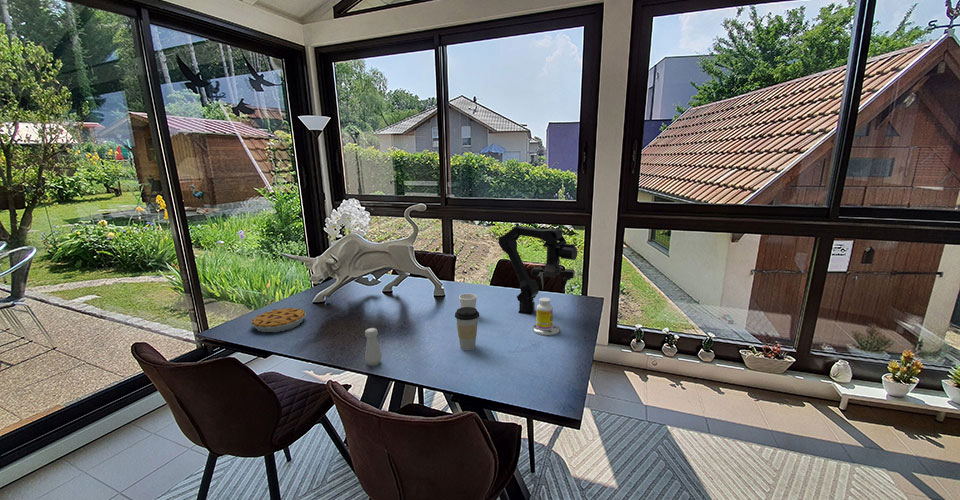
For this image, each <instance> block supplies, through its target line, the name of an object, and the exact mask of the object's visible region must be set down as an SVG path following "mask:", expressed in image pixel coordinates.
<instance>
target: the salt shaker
mask: <svg viewBox="0 0 960 500" xmlns="http://www.w3.org/2000/svg"><path fill="white" fill-rule="evenodd" d="M378 334H379V331H378V330H377V328H376V327H370V328H367V329H366V330H365V331H364V337H365V338H367V339H366V345H365V355H364V360H365V362H366V364H367V365H368V366H370V367H374V366H378V365H379V364H380V363H381V360H382V352H381V349H380V345H379V342H378V338H377V336H378Z"/></svg>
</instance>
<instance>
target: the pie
mask: <svg viewBox="0 0 960 500" xmlns="http://www.w3.org/2000/svg"><path fill="white" fill-rule="evenodd" d="M306 315H307V312H306V311H305V310H304V309H301V308H295V307H289V308H286V307H284V308H283V307H282V308H281V309H280V308H279V309H272V310H271V311H265V312H263V313H261V314H258V315H257V316H256V317H254V318H252V321H251V323H250V325H251V326H253V328H255V330H256V329H257V330H256V331H258V332H260V331H261V332H260V333H265V332H274V333H279V332H280V331H282V332H285V330H286V331H288V330H291V329H294V328H295V327H298V326H300V323H301V324H302V323H303V320H304V318H306ZM280 333H281V332H280Z"/></svg>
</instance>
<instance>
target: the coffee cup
mask: <svg viewBox="0 0 960 500" xmlns="http://www.w3.org/2000/svg"><path fill="white" fill-rule="evenodd" d="M454 318H456V328H457V335H458V340H459V347H460V349H461V350H463V351H472V350H474V349H476V343H477V342H476V339H477V331H478V324H479V323H478V319H479V318H480V313H479V311H478V309H477V308H476V307H475V308H473V307H462V308H461V307H459V308H457V309H456V312H455V313H454Z"/></svg>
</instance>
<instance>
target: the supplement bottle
mask: <svg viewBox="0 0 960 500" xmlns="http://www.w3.org/2000/svg"><path fill="white" fill-rule="evenodd" d="M538 303H539V304H537V305H536V321H535V323H536V324H535V325H536V327H537V329H539V330H542V331H548V330H551V329H552V324H553V308H554V307H553V306H552V305H551V299H550V298H549V297H540V298H539V299H538Z"/></svg>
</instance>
